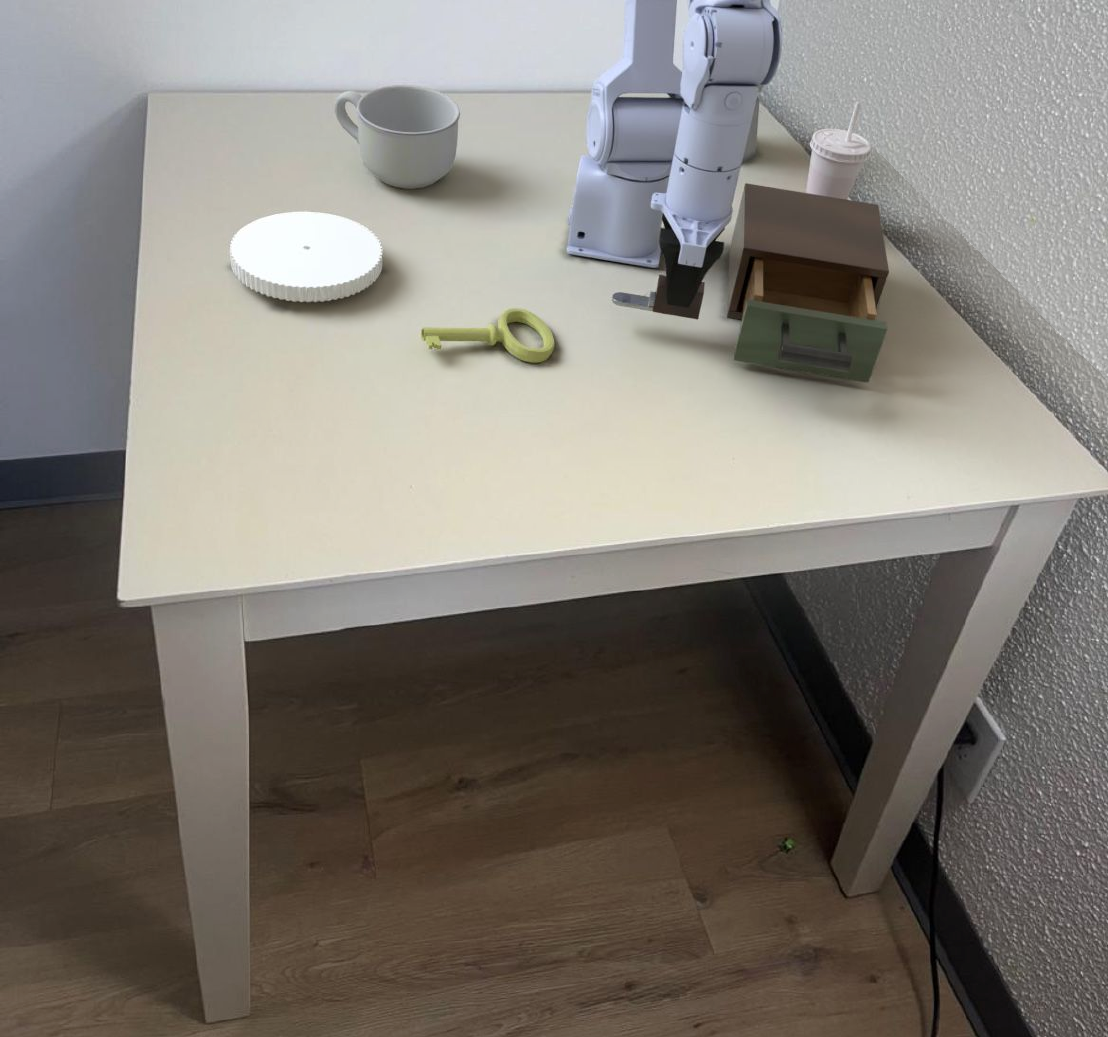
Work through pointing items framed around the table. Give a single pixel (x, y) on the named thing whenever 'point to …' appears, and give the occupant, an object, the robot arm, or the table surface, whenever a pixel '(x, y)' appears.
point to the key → (498, 335)
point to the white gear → (306, 256)
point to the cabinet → (805, 237)
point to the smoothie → (836, 160)
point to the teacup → (403, 133)
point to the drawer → (809, 320)
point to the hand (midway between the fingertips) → (678, 296)
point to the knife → (660, 301)
